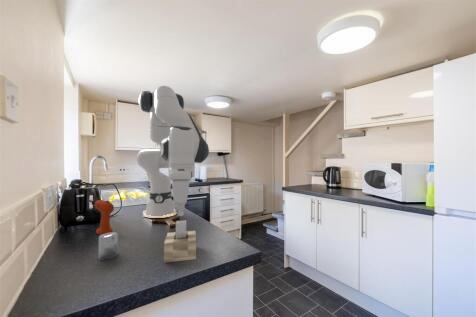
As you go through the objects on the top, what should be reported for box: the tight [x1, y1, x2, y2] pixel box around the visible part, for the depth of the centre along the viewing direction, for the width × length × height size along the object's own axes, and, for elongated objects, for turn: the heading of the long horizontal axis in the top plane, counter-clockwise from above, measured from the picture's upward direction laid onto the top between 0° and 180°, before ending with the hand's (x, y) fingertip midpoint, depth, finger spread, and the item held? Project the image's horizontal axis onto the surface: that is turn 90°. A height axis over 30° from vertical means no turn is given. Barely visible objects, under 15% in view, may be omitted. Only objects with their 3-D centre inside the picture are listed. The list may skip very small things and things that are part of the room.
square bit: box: [175, 219, 187, 239], centre depth 70 cm, size 3×3×10 cm
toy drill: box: [86, 199, 115, 235], centre depth 92 cm, size 5×19×15 cm, turn 65°
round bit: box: [98, 231, 119, 261], centre depth 68 cm, size 6×6×7 cm
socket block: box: [163, 230, 197, 264], centre depth 70 cm, size 10×10×6 cm
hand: (181, 211), depth 70 cm, fingers open, 8 cm apart
